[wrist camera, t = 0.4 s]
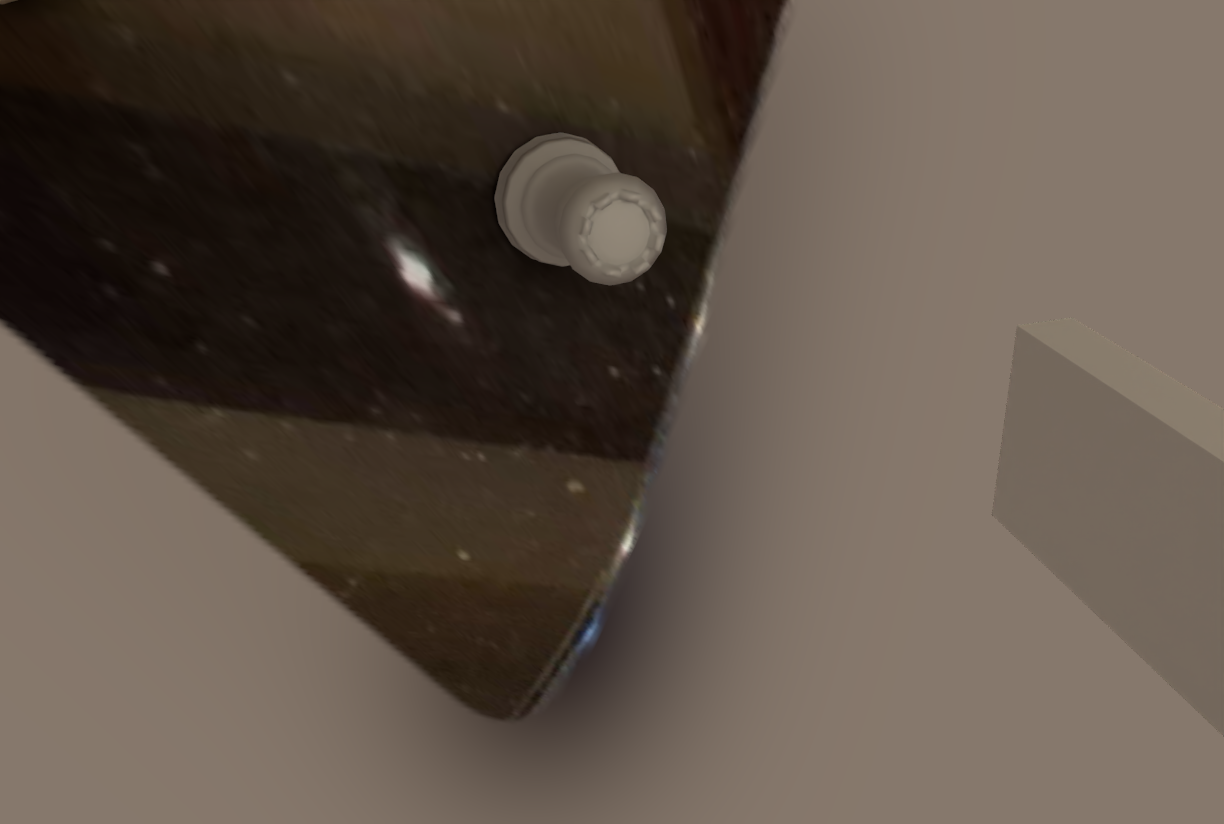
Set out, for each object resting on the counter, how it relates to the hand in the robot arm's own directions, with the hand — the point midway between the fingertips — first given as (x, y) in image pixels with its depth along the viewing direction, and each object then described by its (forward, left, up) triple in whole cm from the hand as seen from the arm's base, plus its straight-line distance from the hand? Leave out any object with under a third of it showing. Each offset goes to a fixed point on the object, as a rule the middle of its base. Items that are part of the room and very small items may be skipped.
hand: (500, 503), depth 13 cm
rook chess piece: (+2, +7, -27) cm, 28 cm away
